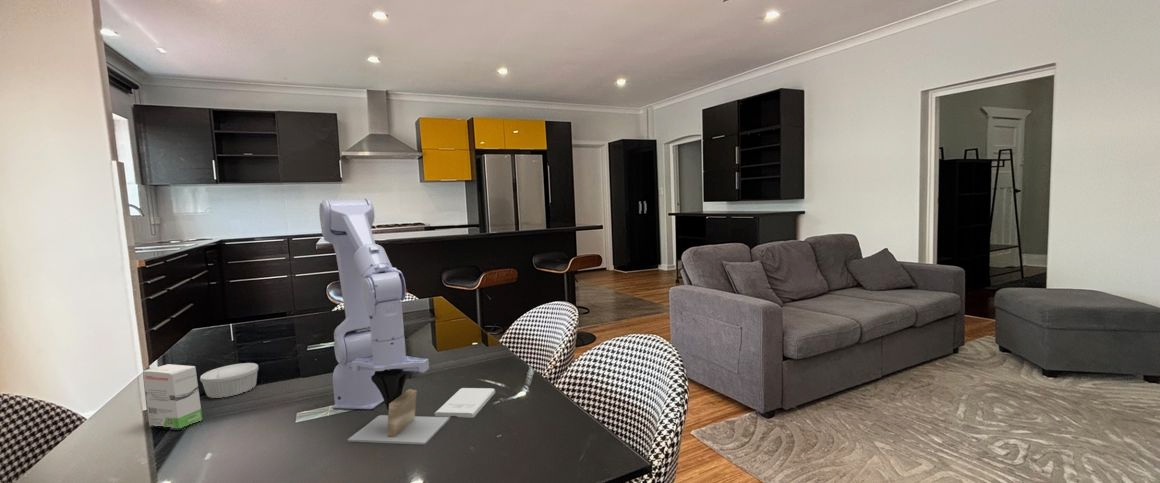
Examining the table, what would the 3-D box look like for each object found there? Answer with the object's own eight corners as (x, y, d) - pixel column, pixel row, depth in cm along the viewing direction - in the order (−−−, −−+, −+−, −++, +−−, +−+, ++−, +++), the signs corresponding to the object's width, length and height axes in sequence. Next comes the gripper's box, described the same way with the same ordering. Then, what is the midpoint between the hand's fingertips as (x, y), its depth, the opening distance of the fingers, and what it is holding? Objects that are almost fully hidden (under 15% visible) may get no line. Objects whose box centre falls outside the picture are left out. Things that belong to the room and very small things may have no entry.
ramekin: (191, 398, 113) (188, 376, 113) (240, 381, 124) (238, 361, 123) (222, 403, 109) (220, 380, 109) (270, 385, 119) (268, 364, 119)
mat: (347, 441, 88) (347, 439, 88) (379, 417, 98) (379, 415, 98) (425, 444, 85) (424, 442, 85) (449, 419, 95) (449, 417, 95)
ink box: (203, 421, 100) (197, 365, 99) (177, 432, 95) (170, 373, 94) (174, 417, 103) (168, 362, 102) (147, 428, 98) (140, 370, 97)
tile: (386, 435, 88) (388, 403, 88) (406, 418, 95) (408, 388, 94) (394, 437, 88) (397, 405, 87) (414, 419, 95) (416, 390, 94)
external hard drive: (495, 395, 108) (473, 420, 95) (460, 394, 109) (434, 419, 97) (495, 388, 108) (473, 412, 95) (460, 387, 109) (434, 411, 97)
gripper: (338, 343, 88) (345, 416, 89) (413, 343, 85) (418, 418, 86) (362, 332, 95) (368, 400, 96) (432, 332, 92) (437, 402, 93)
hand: (393, 408), depth 91 cm, fingers closed
